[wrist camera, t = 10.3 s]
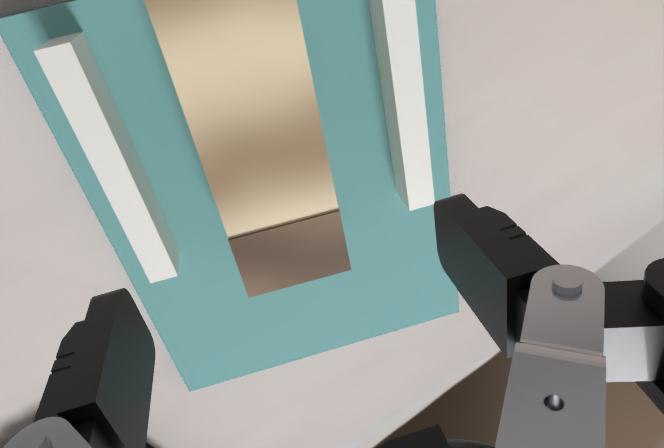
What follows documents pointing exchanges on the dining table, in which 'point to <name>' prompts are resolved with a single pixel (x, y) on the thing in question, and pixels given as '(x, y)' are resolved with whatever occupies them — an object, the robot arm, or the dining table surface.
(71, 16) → the rubber mat
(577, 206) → the dining table surface
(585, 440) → the robot arm
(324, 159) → the tan rectangular block
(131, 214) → the pair of grey bars
